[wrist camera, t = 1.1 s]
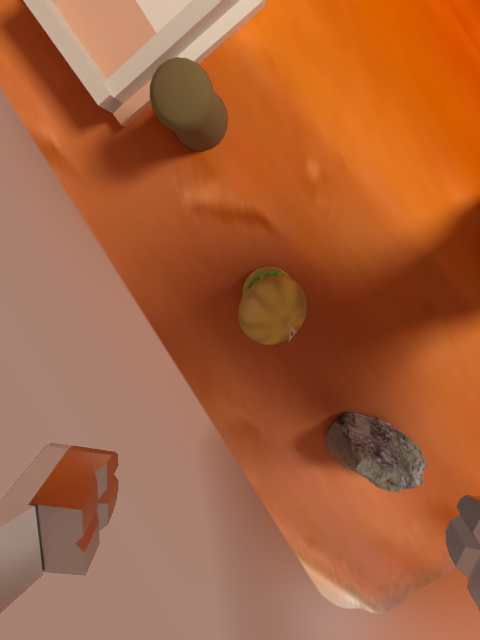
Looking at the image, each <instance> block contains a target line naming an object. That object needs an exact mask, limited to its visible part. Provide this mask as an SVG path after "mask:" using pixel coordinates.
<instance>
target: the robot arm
mask: <svg viewBox="0 0 480 640" xmlns="http://www.w3.org/2000/svg"><path fill="white" fill-rule="evenodd" d="M117 466H118V454H117V453H116V452H112V451H106V450H99V449H92V448H85V447H78V446H68V445H62V444H55V443H51V444H49V445H47V446H46V447H45V448H44V449H43V450H42V451H41V453H40V454H39V455H38V456H37V457H36V459H35V460H34V461H33V462H32V464H31V465H30V466H29V467H28V468H27V470H26V471H25V472H24V473H23V474H22V476H21V477H20V478H19V479H18V480H17V482H16V483H15V484H14V485H13V487H12V488H11V489H10V490H9V492H8V493H7V494H6V495H5V497H4V498H3V499H2V500H1V501H0V613H1V612H2V611H3V610H4V609H6V608H7V607H8V606H9V605H10V604H11V603H12V602H13V601H14V600H16V599H17V598H18V597H19V596H20V595H21V594H22V593H23V592H24V591H25V590H27V589H28V588H29V587H30V586H31V585H32V584H33V583H34V582H36V580H38V579H39V578H40V577H41V576H42V575H43V572H51V573H63V574H74V575H86V573H87V571H88V568H89V566H90V564H91V562H92V559H93V557H94V555H95V552H96V550H97V548H98V546H99V531H100V530H101V529H103V528H104V527H105V526H106V525H108V523H109V520H110V518H111V515H112V513H113V510H114V506H115V503H116V499H117V493H118V479H117V478H116V477H115V475H114V473H115V471H116V469H117ZM457 509H458V512H459V514H460V515H458V516H457V517H455V518H453V519H452V520H450V522H449V524H448V527H447V530H446V545H447V548H448V551H449V555H450V557H451V559H452V561H453V562H454V564H455V566H456V567H457V568H458V569H459V570H460V571H461V572H462V573H463V574H464V575H466V576H467V577H468V586H467V588H468V590H469V592H470V594H471V596H472V598H473V599H474V601H475V603H476V605H477V606H478V609H479V610H480V496H471V495H465V496H464V497H462V498H461V499H460V501H459V503H458V505H457Z"/></svg>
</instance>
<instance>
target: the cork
mask: <svg viewBox="0 0 480 640" xmlns="http://www.w3.org/2000/svg"><path fill="white" fill-rule="evenodd" d="M150 101H151V104H152V108H153V111H154V113H155V114H156V116H157V118H158V120H159V121H160V122H161V123H162V124H163V125H165V126H166V127H167V128H168V129H170V130H172V131H174V132H175V134H176V136H177V138H178V139H179V141H180V142H181V143H183V144H184V145H185V146H186V147H188V148H190V149H192V150H195V151H205V150H209V149H212V148H213V147H215V146H216V145H218V144H219V142H220V141H221V140H222V138H223V137H224V135H225V132H226V129H227V122H228V116H227V111H226V107H225V105H224V103H223V101H222V100H221V98H220V97H219V96H218V95H217V94H216V93H215V92H214V91H213V86H212V83H211V81H210V79H209V77H208V75H207V73H206V71H205V70H204V69H203V68H202V67H201V66H200V65H199V64H198V63H196V62H194V61H192V60H190V59H187V58H180V57H176V58H172V59H169V60H166V61H165V62H164V63H162V64H161V65H160V66H159V67H158V68H157V70H156V71H155V73H154V74H153V77H152V80H151V83H150Z"/></svg>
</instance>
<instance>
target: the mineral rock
mask: <svg viewBox="0 0 480 640" xmlns="http://www.w3.org/2000/svg"><path fill="white" fill-rule="evenodd" d="M326 446H327V447H328V450H329V452H330V453H331V454H332V455H333V456H334V457H335V458H336V459H337V460H338V461H339V462H340V463H341V464H342V465H343V466H344V467H345V468H349V469H351V470H353V471H356V472H357V473H358V474H360V475H361V476H363V477H365V478H366V479H368V480H369V481H370V482H371V483H373V484H374V485H376V486H377V487H378V488H381V489H384V490H387V491H390V492H395V491H397V492H399V491H401V490H404V489H405V488H406V489H412V488H415V486H416V485H418V486H419V485H422V484H423V470H424V469H425V468H426V467H427V464H426V461H425V458H424V455H423V454H422V453H421V450H420V447H419V446H418V445H417V444H416V443H414V442H413V441H412V440H411V439H409V437H408V436H406V435H404V434H402V432H401V430H396V429H394V428H393V427H391V424H390V423H386V422H384V421H382V420H381V419H380V418H377V417H367V416H364V415H361V414H357V413H347V412H346V413H343V414H342V416H341V417H340V419H339V420H337V421H335V422H334V423H333V424H332V425H331V426H330V428H329V430H328V432H327V435H326Z"/></svg>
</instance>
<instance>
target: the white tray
mask: <svg viewBox="0 0 480 640" xmlns="http://www.w3.org/2000/svg"><path fill="white" fill-rule="evenodd" d="M23 1H24V2H25V4H26V5H27V6H28V8H29V9H30V11H31V12H32V13H33V15H34V16H35V18H36V19H37V20H38V22H39V23H40V25H41V26H42V27H43V29H44V30H45V32H46V33H47V34H48V36H49V37H50V39H51V40H52V41H53V43H54V44H55V46H56V47H57V48H58V50H59V51H60V53H61V54H62V55H63V57H64V58H65V60H66V61H67V62H68V64H69V65H70V67H71V68H72V69H73V71H74V72H75V74H76V75H77V76H78V78H79V79H80V81H81V82H82V83H83V85H84V86H85V88H86V89H87V90H88V92H89V93H90V95H91V96H92V97H93V99H94V100H95V102H96V103H97V104H98V106H100V107H102V108H104V109H105V110H107V111H109V112H111V113H113V115H114V116H115V117H116V119H117V120H118V122H119V123H120V125H122V126H124V127H127V126H128V125H129V124H130V123H132V122H133V121H134V120H135V119H136V118H137V117H138V116H140V115H141V114H142V113H143V112H144V111H145V110H147V109H148V108H149V107H150V106H151V105H152V104H151V101H150V83H151V80H152V77H153V74H154V73H155V71H156V70H157V68H158V67H159V66H160V65H161V64H162V63H164V62H165V61H166V60H169V59H172V58H176V57H180V58H187V59H190V60H192V61H194V62H196V63H198V64H200V63H201V62H202V61H203V60H204V59H205V58H207V57H208V56H209V55H210V54H211V53H212V52H214V51H215V50H216V49H217V48H218V47H219V46H220V45H222V44H223V43H224V42H225V41H226V40H227V39H229V38H230V37H231V36H232V35H233V34H234V33H235V32H237V31H238V30H239V29H240V28H241V27H242V26H244V25H245V24H246V23H247V22H248V21H249V20H250V19H252V18H253V17H254V16H255V15H256V14H257V13H259V12H260V11H261V10H262V9H263V8H264V7H265V6H266V0H23Z"/></svg>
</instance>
